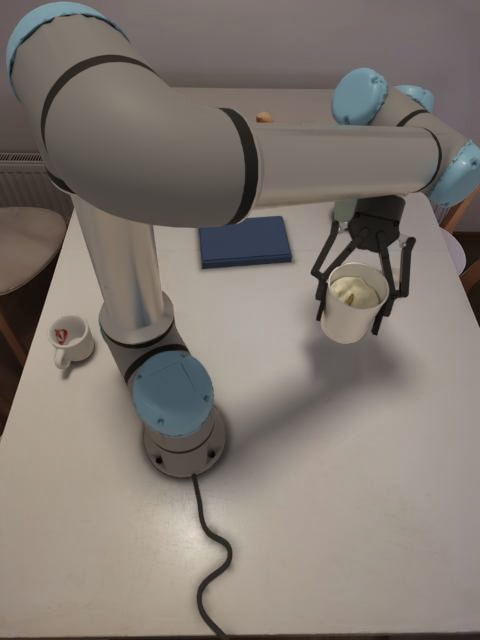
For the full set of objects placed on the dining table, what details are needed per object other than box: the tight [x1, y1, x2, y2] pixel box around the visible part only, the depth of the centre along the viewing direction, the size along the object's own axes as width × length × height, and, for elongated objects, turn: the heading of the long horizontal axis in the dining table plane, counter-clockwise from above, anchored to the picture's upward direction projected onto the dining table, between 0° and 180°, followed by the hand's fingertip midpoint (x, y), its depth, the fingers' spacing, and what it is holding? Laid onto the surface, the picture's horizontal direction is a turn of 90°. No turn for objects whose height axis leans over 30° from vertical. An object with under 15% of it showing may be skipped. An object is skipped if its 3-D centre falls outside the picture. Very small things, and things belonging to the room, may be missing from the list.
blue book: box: [198, 215, 293, 270], centre depth 108 cm, size 14×22×2 cm, turn 97°
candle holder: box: [320, 261, 389, 345], centre depth 75 cm, size 10×10×12 cm
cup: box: [46, 313, 95, 371], centre depth 88 cm, size 11×8×8 cm
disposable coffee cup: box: [333, 199, 357, 222], centre depth 108 cm, size 11×11×15 cm
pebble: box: [378, 267, 400, 290], centre depth 100 cm, size 9×8×5 cm
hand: (345, 326), depth 74 cm, fingers closed on candle holder, 9 cm apart
